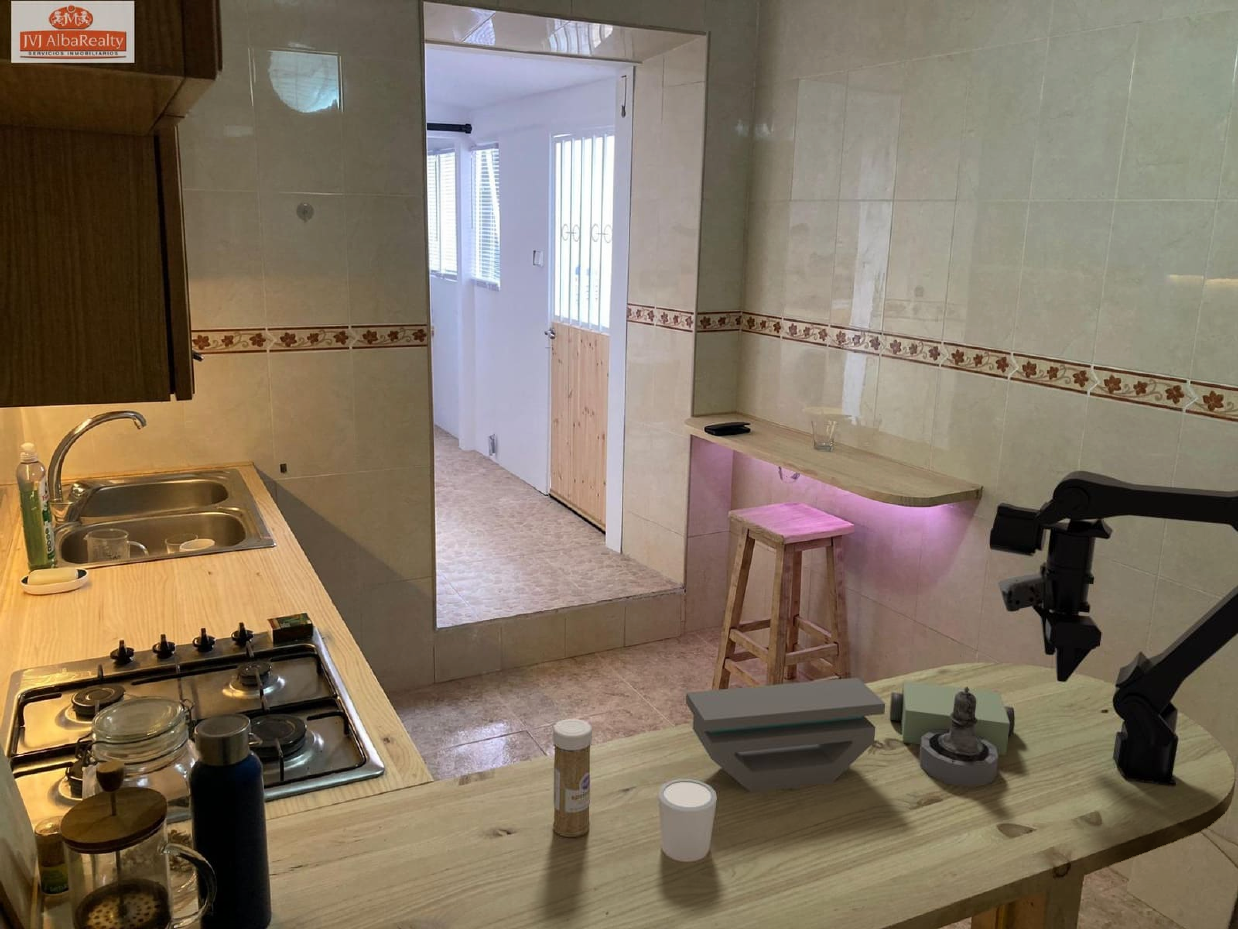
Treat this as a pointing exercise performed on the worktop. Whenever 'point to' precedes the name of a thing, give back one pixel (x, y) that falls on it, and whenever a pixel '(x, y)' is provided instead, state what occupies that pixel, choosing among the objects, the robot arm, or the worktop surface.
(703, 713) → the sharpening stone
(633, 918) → the worktop surface
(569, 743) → the sprinkles bottle
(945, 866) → the worktop surface
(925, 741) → the block with end pegs
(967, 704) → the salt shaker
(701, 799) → the white cup
